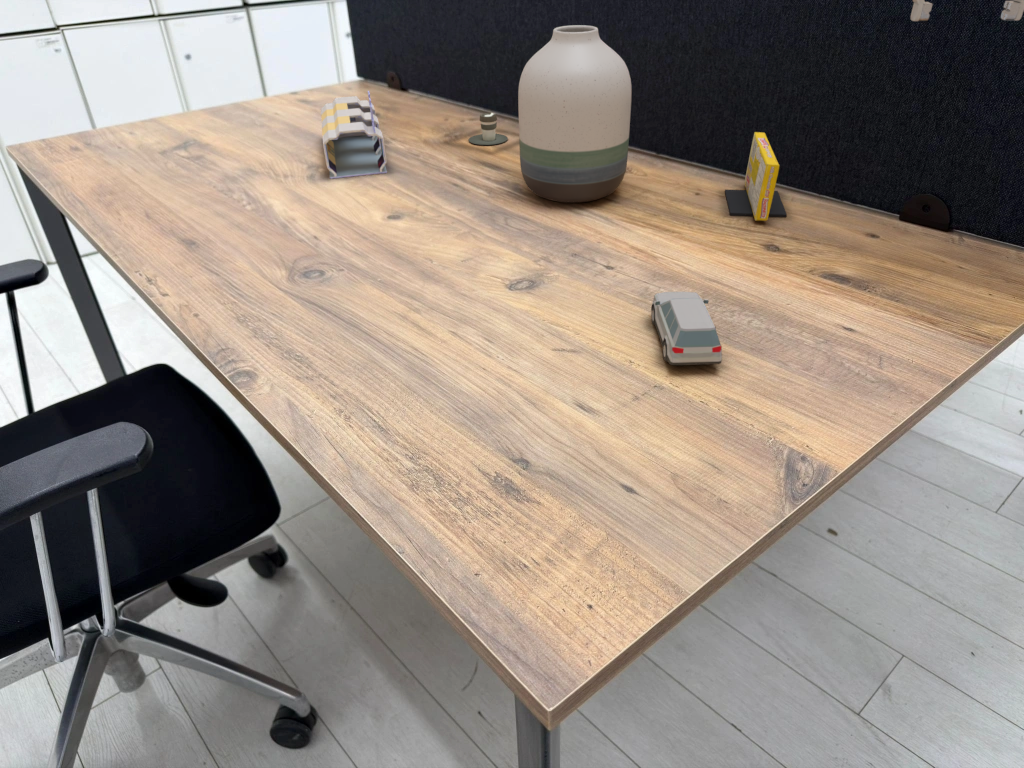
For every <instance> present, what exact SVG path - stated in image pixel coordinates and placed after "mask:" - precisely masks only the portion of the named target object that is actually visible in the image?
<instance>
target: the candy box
mask: <svg viewBox="0 0 1024 768" xmlns="http://www.w3.org/2000/svg"><path fill="white" fill-rule="evenodd" d="M768 139H769V138H768V137H767V134H766V133H765V132H762V131H761V132H760V131H754V132H753V137H752V141H751V147H750V152H749V157H748V163H747V167H746V173H745V178H744V181H743V182H744V186H745V190H747V194H748V198H749V201H750V204H751V208H752V211H753V215H754V216H753V218H754V221H756V222H767V221H768V219H769V217H768V216H769V212H770V207H771V203H772V199H773V194H774V191H776V185H777V180H778V176H779V171H780V167H781V166H780V164H779V162H778V160H777V157H776V155H775V152H774V150H773V148H772V146H771V144H770V141H769V140H768Z"/></svg>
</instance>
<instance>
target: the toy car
mask: <svg viewBox="0 0 1024 768" xmlns="http://www.w3.org/2000/svg"><path fill="white" fill-rule="evenodd" d="M709 301H710V300H709V299H703V298H701V296H700V294H698V292H693V291H662V292H658V293H655V294H654V295H653V299H652V304H651V308H650V311H651V315H650V317H651V324H652V325H653V326H655V328H656V332H657V334H658V338H659V341H660V344H661V347H662V358H663V360H664V361H665V362H666V363H668V364H669V365H670V366H693V365H695V366H696V365H720V364H722V361H723V359H722V358H723V357H722V354H723V353H722V352H723V351H722V349H723V348H722V344H721V340H720V338H719V335H718V332H717V329H716V326H715V324H714V322H713V319H712V317H711V315H710V313H709V311H708V309H707V306H706V304H707V305H709Z"/></svg>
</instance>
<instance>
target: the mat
mask: <svg viewBox="0 0 1024 768" xmlns="http://www.w3.org/2000/svg"><path fill="white" fill-rule="evenodd" d="M724 194H725V195H724V196H725V198H726V199H725V200H726V203H727V209H728V212H729V216H738V217H739V216H740V217H754V215H753V211H752V208H751V204H750V201H749V198H748V194H747V190H746V189H724ZM787 216H788V214H787V211H786V208H785V207H784V203H783V201H782V199H781V196H780V194H779V191H778V190H774V194H773V199H772V203H771V207H770V212H769V216H768V218H771V217H772V218H775V217H776V218H787Z"/></svg>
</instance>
